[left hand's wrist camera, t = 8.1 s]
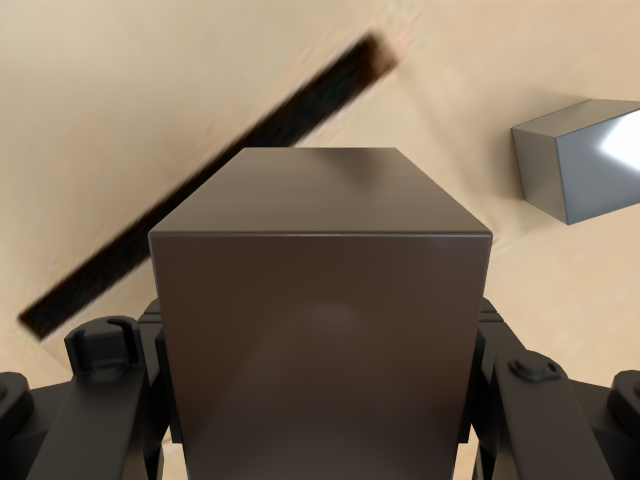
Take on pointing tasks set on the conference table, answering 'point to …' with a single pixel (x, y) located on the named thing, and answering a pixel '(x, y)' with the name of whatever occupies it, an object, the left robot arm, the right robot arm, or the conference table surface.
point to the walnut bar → (320, 317)
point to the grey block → (581, 159)
